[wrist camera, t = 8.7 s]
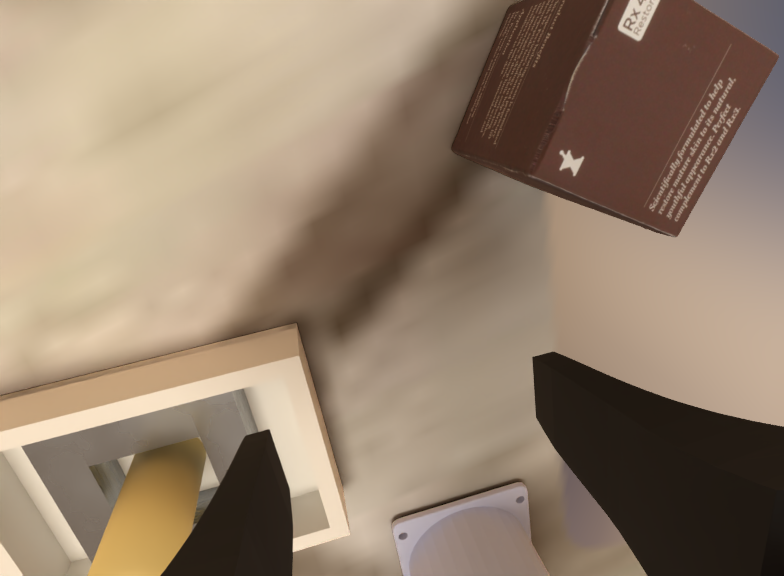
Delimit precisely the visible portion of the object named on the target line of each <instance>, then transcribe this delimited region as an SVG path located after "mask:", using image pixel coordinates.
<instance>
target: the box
mask: <svg viewBox="0 0 784 576" xmlns="http://www.w3.org/2000/svg"><path fill="white" fill-rule="evenodd" d="M778 58H779V55H778V54H776V53H775V52H773V51H772V50H770V49H769V48H767V47H766V46H764V45H763V44H761V43H759V42H758V41H756V40H755V39H753V38H751V37H750V36H748V35H747V34H745V33H744V32H742V31H741V30H739V29H737V28H736V27H734V26H733V25H731V24H730V23H728V22H727V21H725V20H723V19H722V18H720V17H719V16H717V15H715V14H714V13H712V12H710V11H709V10H708V9H706V8H704V7H703V6H701V5H700V4H698V3H697V2H695V1H694V0H523V1H522V2H519V3H517V4H514V5H511V6H510V7H509V9H508V11H507V13H506V16H505V18H504V21H503V24H502V26H501V28H500V31H499V33H498V36H497V38H496V40H495V43H494V45H493V48H492V50H491V52H490V55H489V57H488V60H487V63H486V65H485V67H484V70H483V72H482V75H481V77H480V79H479V82H478V85H477V87H476V90H475V92H474V94H473V97H472V99H471V102H470V104H469V107H468V109H467V111H466V114H465V116H464V119H463V121H462V124H461V127H460V129H459V132H458V134H457V137H456V139H455V142H454V144H453V146H452V151H453V152H454V153H455V154H457V155H460V156H462V157H464V158H466V159H469V160H471V161H473V162H476V163H478V164H480V165H483V166H485V167H487V168H490V169H492V170H494V171H497V172H499V173H501V174H503V175H506V176H508V177H511V178H513V179H515V180H518V181H520V182H522V183H525V184H527V185H530V186H532V187H535V188H538V189H540V190H542V191H545V192H548V193H550V194H553V195H556V196H558V197H561V198H564V199H566V200H569V201H572V202H575V203H578V204H580V205H583V206H586V207H589V208H592V209H595V210H597V211H600V212H603V213H605V214H608V215H611V216H613V217H616V218H619V219H621V220H625V221H627V222H630V223H633V224H635V225H638V226H641V227H643V228H645V229H649V230H651V231H654V232H656V233H660V234H664V235H668V236H672V237H677V236H678V235H679V233H680V231H681V229H682V227H683V226H684V224H685V222H686V220H687V219H688V217H689V214H690V213H691V211H692V209H693V208H694V206H695V204H696V203H697V201H698V199H699V197H700V195H701V194H702V192H703V190H704V188H705V186H706V185H707V183H708V181H709V179H710V178H711V176H712V174H713V172H714V171H715V169H716V167H717V165H718V163H719V162H720V160H721V159H722V156H723V155H724V153H725V151H726V150H727V148H728V146H729V144H730V143H731V141H732V139H733V137H734V135H735V134H736V131H737V130H738V128H739V127H740V125H741V123H742V121H743V119H744V118H745V116H746V114H747V112H748V111H749V109H750V107H751V105H752V104H753V102H754V100H755V99H756V97H757V95H758V93H759V92H760V90H761V88H762V86H763V84H764V83H765V81H766V79H767V78H768V76H769V74H770V72H771V70H772V68H773V67H774V65H775V64H776V62H777V60H778Z"/></svg>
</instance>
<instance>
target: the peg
mask: <svg viewBox="0 0 784 576" xmlns="http://www.w3.org/2000/svg"><path fill="white" fill-rule="evenodd" d="M205 460H206V450H205V448H204V445H203V443H202V442H201V440H200V439H199V438H198V437H197V438H193V439H189V440H186V441H182V442H178V443H174V444H171V445H167V446H163V447H160V448H156V449H152V450H148V451H145V452H141V453H137V454H135V455H134V458H133V460H132V463H131V465H130V468H129V470H128V473H127V476H126V478H125V481H124V483H123V486H122V488H121V491H120V493H119V496H118V499H117V501H116V504H115V506H114V509H113V511H112V514H111V516H110V519H109V522H108V524H107V527H106V529H105V532H104V534H103V537H102V539H101V542H100V544H99V547H98V550H97V552H96V555H95V557H94V560H93V562H92V565H91V567H90V570H89V573H88V575H87V576H160V575H161V574H162V573H163V572H164V570H165V569H166V568H167V566H168V565H169V564H170V562H171V561H172V559H173V558H174V557H175V555H176V554H177V553H178V551H179V550H180V548H181V547H182V545H183V544H184V542H185V541H186V540H187V538H188V537H189V535H190V534H191V532H192V527H193V522H194V517H195V512H196V506H197V501H198V496H199V491H200V486H201V481H202V476H203V471H204V466H205Z"/></svg>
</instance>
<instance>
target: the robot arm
mask: <svg viewBox="0 0 784 576" xmlns="http://www.w3.org/2000/svg"><path fill="white" fill-rule="evenodd" d="M532 358H533V373H534V389H535V405H536V418H537V419H538V421H539V423H540V425H541V426H542V428H543V430H544V432H545V433H546V435H547V437H548V438H549V440H550V442H551V443H552V445H553V446H554V448H555V449H556V451H557V452H558V453H559V455H560V456H561V457H562V458H563V460H564V461H565V462H566V464H567V465H568V466H569V467H570V469H571V470H572V471H573V473H574V474H575V475H576V476H577V478H578V479H579V480H580V481H581V483H582V484H583V485H584V486H585V488H586V489H587V490H588V491H589V492H590V494H591V495H592V496H593V498H594V499H595V500H596V501H597V503H598V504H599V505H600V506H601V508H602V509H603V510H604V511H605V513H606V514H607V515H608V517H609V518H610V519H611V521H612V522H613V523H614V525H615V526H616V528H617V529H618V530H619V532H620V533H621V535H622V536H623V538H624V539H625V541H626V543H627V544H628V546H629V547H630V549H631V550H632V552H633V553H634V555H635V556H636V558H637V560H638V561H639V563H640V564H641V566H642V567H643V569H644V571H645V572H646V574H647V575H648V576H784V427H782V426H776V425H771V424H765V423H760V422H755V421H750V420H746V419H741V418H737V417H732V416H728V415H723V414H719V413H716V412H712V411H708V410H704V409H701V408H698V407H694V406H691V405H687V404H684V403H681V402H677V401H674V400H671V399H668V398H665V397H662V396H660V395H657V394H654V393H652V392H649V391H646V390H643V389H641V388H638V387H636V386H633V385H630V384H628V383H625V382H623V381H621V380H618V379H616V378H613V377H611V376H609V375H606V374H604V373H602V372H600V371H597V370H595V369H593V368H591V367H588V366H586V365H584V364H581V363H579V362H577V361H575V360H572V359H570V358H568V357H566V356H563V355H561V354H558V353H556V352H550V353H546V354H543V355H539V356H535V357H532ZM518 497H519V498H518ZM392 531H393V536H394V540H395V544H396V548H397V552H398V557H399V561H400V565H401V569H402V573H403V576H550V575H549V573H548V571H547V569H546V568H545V566H544V564H543V562H542V560H541V559H540V557H539V555H538V553H537V551H536V550H535V548H534V546H533V544H532V541H531V528H530V515H529V502H528V490H527V488H526V486H525V484H524V483H522V482H516V483H513V484H510V485H506V486H503V487H500V488H496V489H493V490H490V491H487V492H483V493H480V494H477V495H474V496H470V497H467V498H464V499H461V500H457V501H454V502H451V503H447V504H444V505H441V506H438V507H434V508H431V509H428V510H425V511H421V512H418V513H415V514H411V515H408V516H405V517H402V518H399V519H396V520H395V521H394V522H393V523H392ZM401 533H403V534H401ZM292 562H293V518H292V507H291V497H290V488H289V485H288V482H287V479H286V476H285V473H284V471H283V468H282V465H281V462H280V459H279V456H278V453H277V450H276V447H275V444H274V441H273V438H272V435H271V432H270V429H268V430H264V431H260V432H257V433H253V434H249V435H246V436H245V437H244V439H243V440H242V442H241V444H240V446H239V448H238V450H237V452H236V454H235V456H234V458H233V460H232V462H231V464H230V466H229V468H228V470H227V472H226V474H225V476H224V478H223V479H222V481H221V483H220V485H219V487H218V488H217V490H216V492H215V494H214V496H213V497H212V499H211V501H210V503H209V504H208V506H207V508H206V509H205V511H204V513H203V514H202V516H201V517H200V519H199V521H198V522H197V524H196V526H195V527H194V529H193V530H192V532H191V534H190V535H189V537H188V538H187V540H186V541H185V542H184V544H183V545H182V547H181V548H180V550H179V551H178V553H177V554H176V555H175V557H174V558H173V559H172V561H171V562H170V564H169V565H168V566H167V568H166V569H165V570H164V572H163V573H162V574H161V575H160V576H292Z"/></svg>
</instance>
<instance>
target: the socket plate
mask: <svg viewBox="0 0 784 576" xmlns="http://www.w3.org/2000/svg"><path fill="white" fill-rule="evenodd" d="M257 432H259V431H258V429H257V426H256V423H255V420H254V417H253V414H252V412H251V409H250V406H249V403H248V400H247V397H246V395H245V392H244V389H243V388H242V389H239V390H235V391H231V392H227V393H223V394H219V395H216V396H212V397H208V398H204V399H200V400H196V401H192V402H189V403H185V404H181V405H177V406H173V407H169V408H166V409H162V410H158V411H154V412H150V413H146V414H143V415H139V416H135V417H131V418H127V419H123V420H120V421H116V422H112V423H108V424H104V425H100V426H96V427H93V428H89V429H85V430H81V431H77V432H73V433H70V434H66V435H62V436H58V437H54V438H50V439H47V440H43V441H39V442H35V443H31V444H27V445H24V446H21V447H22V449H23V450H24V452H25V454H26V455H27V457H28V459H29V460H30V462H31V464H32V465H33V467H34V469H35V470H36V472H37V474H38V475H39V477H40V479H41V480H42V482H43V483H44V485H45V487H46V488H47V490H48V492H49V493H50V495H51V497H52V498H53V500H54V502H55V503H56V505H57V507H58V508H59V510H60V512H61V513H62V515H63V516H64V518H65V520H66V521H67V523H68V525H69V526H70V528H71V530H72V531H73V533H74V535H75V536H76V538H77V540H78V541H79V543H80V545H81V546H82V548H83V549H84V551H85V553H86V554H87V556H88V558H89V559H90V561H91V563H92V562H93V560H94V557H95V555H96V552H97V550H98V547H99V544H100V542H101V539H102V537H103V534H104V532H105V529H106V527H107V524H108V522H109V519H110V516H111V514H112V511H113V509H114V506H115V504H116V501H117V499H118V496H119V493H120V491H121V488H122V486H123V483H124V481H125V478H126V476H125V474H124V472H123V470H122V468H121V466H120V464H119V462H118V460H117V459H119V458H123V457H126V456H130V455H134V454H137V453H141V452H145V451H148V450H152V449H156V448H160V447H163V446H167V445H171V444H174V443H178V442H182V441H186V440H189V439H193V438H197V437H200V438H201V441H202V443H203V445H204V448H205V450H206V453H207V455H208V457H209V460H210V462H211V465H212V467H213V470H214V472H215V474H216V477H217V479H218V482H219V484H220V483H221V481H222V479H223V478H224V476H225V474H226V472H227V470H228V468H229V466H230V464H231V462H232V460H233V458H234V456H235V454H236V452H237V450H238V448H239V446H240V444H241V442H242V440H243V439H244V437H245V436H246V435H249V434H253V433H257ZM218 487H219V486H217V487H213V488H210V489H206V490H203V491H199V496H198V501H197V506H196V512H195V517H194V522H193V527H192V530H193V529H194V527H195V526H196V524H197V522H198V521H199V519H200V517H201V516H202V514H203V513H204V511H205V509H206V508H207V506H208V504H209V503H210V501H211V499H212V497H213V496H214V494H215V492H216V490H217V488H218Z"/></svg>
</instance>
